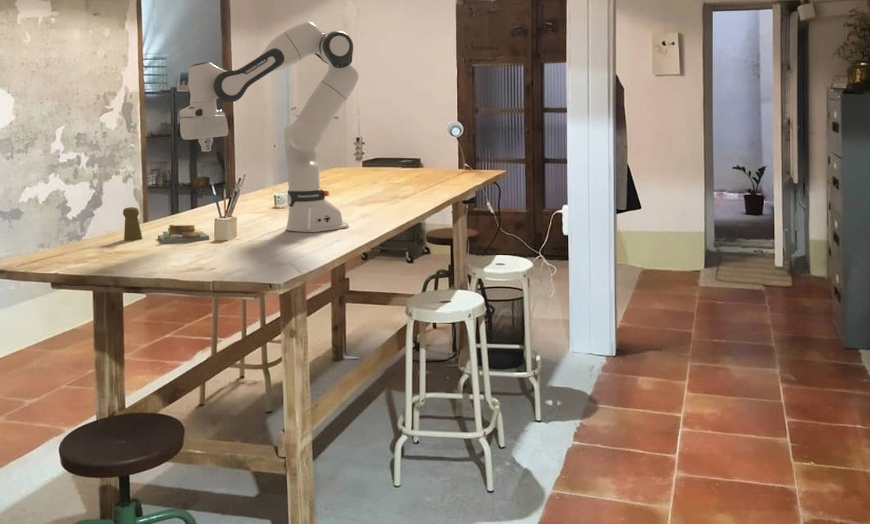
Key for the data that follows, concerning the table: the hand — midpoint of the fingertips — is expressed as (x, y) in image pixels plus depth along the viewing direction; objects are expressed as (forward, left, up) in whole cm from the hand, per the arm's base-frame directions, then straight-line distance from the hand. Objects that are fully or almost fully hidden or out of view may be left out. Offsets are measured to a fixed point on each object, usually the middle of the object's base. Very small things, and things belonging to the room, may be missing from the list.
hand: (206, 151), depth 308 cm
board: (+11, +4, -29) cm, 31 cm away
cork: (+26, -5, -29) cm, 39 cm away
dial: (+11, +7, -28) cm, 30 cm away
